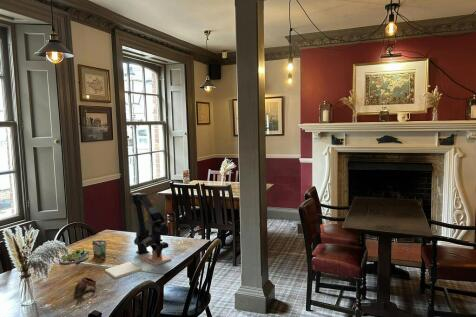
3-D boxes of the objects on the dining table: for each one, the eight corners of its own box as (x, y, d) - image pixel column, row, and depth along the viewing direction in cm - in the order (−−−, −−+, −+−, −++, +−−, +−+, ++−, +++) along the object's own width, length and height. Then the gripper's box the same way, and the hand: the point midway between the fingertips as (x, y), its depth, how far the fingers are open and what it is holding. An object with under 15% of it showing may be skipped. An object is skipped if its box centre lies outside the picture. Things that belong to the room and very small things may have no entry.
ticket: (105, 271, 197) (104, 269, 197) (131, 263, 208) (130, 261, 208) (115, 278, 187) (115, 276, 187) (142, 269, 198) (142, 267, 198)
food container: (111, 258, 218) (110, 242, 217) (101, 260, 213) (100, 245, 212) (102, 253, 226) (101, 238, 225) (93, 256, 222) (92, 241, 221)
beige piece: (143, 259, 214) (143, 249, 213) (159, 254, 221) (158, 245, 221) (155, 265, 203) (154, 255, 203) (170, 260, 211) (170, 250, 211)
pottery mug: (74, 291, 175) (82, 275, 177) (92, 297, 176) (100, 281, 178) (68, 295, 163) (77, 278, 165) (87, 302, 164) (95, 285, 167)
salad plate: (91, 262, 213) (91, 254, 212) (59, 268, 205) (59, 260, 204) (89, 252, 230) (88, 245, 229) (59, 257, 222) (59, 250, 221)
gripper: (136, 231, 212) (137, 256, 213) (151, 238, 199) (153, 264, 200) (152, 227, 220) (153, 251, 221) (168, 233, 206) (169, 259, 208)
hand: (157, 256), depth 212 cm, fingers closed on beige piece, 3 cm apart
